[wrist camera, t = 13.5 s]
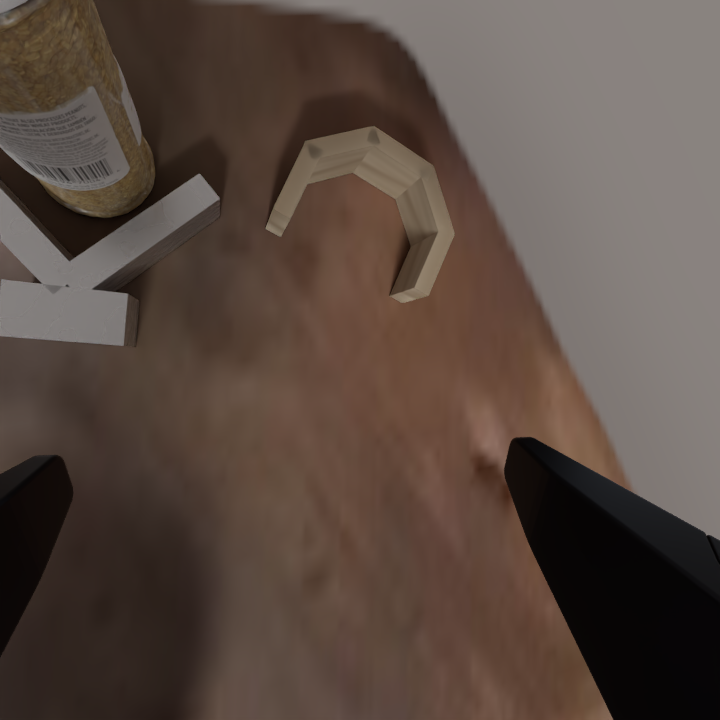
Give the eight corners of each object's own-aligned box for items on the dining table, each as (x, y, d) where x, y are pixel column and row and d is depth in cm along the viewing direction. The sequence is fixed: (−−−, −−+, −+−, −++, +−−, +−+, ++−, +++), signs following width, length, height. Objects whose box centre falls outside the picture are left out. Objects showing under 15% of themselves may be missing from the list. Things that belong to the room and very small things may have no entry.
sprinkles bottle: (165, 134, 19) (57, -314, 6) (145, 234, 19) (-11, -18, 6) (45, 95, 18) (-414, -589, 5) (22, 203, 17) (-523, -213, 5)
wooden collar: (402, 303, 23) (429, 295, 20) (264, 228, 20) (272, 208, 18) (442, 211, 23) (473, 191, 20) (313, 129, 21) (327, 94, 18)
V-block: (208, 352, 20) (207, 352, 17) (-67, 330, 17) (-116, 326, 14) (221, 198, 20) (221, 177, 17) (-51, 147, 17) (-96, 114, 14)
